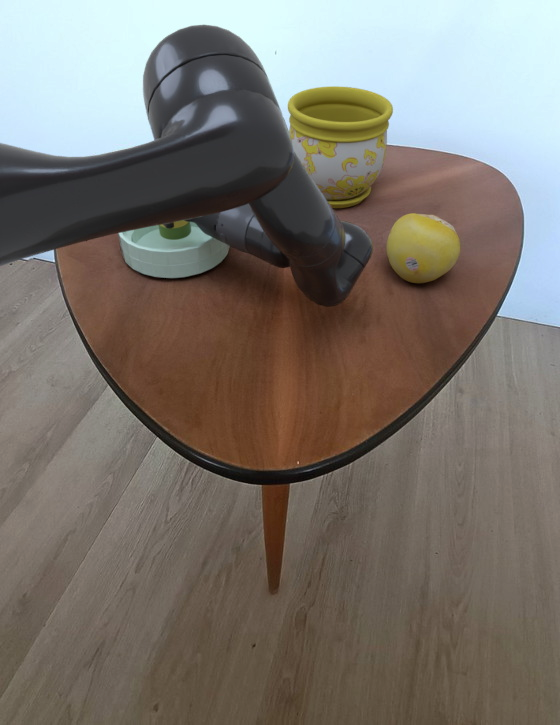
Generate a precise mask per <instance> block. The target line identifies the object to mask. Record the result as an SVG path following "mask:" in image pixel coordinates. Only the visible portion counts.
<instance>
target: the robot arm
mask: <svg viewBox="0 0 560 725" xmlns="http://www.w3.org/2000/svg"><path fill="white" fill-rule="evenodd" d="M142 95H143V96H142V97H143V103H144V107H145V113H146V117H147V120H148V125H149V126H150V131H151V134H152V137H153V140H151V141H149V142H146V143H143V144H139V145H135V146H132V147H128V148H127V147H126V148H123V149H118V150H114V151H109V152H104V153H101V154H95V155H94V154H93V155H86V156H85V155H84V156H68V155H67V156H65V155H54V154H50V153H46V152H40V151H36V150H31V149H28V148H25V147H24V148H23V147H20V146H16V145H12V144H7V143H3V142H0V267H2V266H6V265H8V264H11V263H14V262H17V261H21V260H24V259H26V258H30V257H34V256H37V255H40V254H45V253H48V252H51V251H55V250H58V249H61V248H65V247H69V246H72V245H76V244H81V243H83V242H88V241H91V240H96V239H99V238H103V237H108V236H111V235H118V233H121V232H126V231H131V230H136V229H141V228H146V227H151V226H156V225H161V224H163V225H164V226H165V227H166V228H168V229H171V228H173V227H174V222H177V221H182V220H184V221H187V222H193V223H195V224H196V225H197V226H198V227H199V228H200V229H201V231H202V232H204V233H205V234H207V235H209V236H211V237H213V238H215V239H217V240H219V241H221V242H223V243H225V244H227V245H229V246H230V247H231V248H233V249H234V250H236V251H240V252H242V253H245V254H248V255H251V256H253V257H255V258H257V259H260V260H261V261H263V262H265V263H267V264H269V265H271V266H273V267H276V268H279V269H288V268H290V271H291V276H292V278H293V280H294V281H293V282H295V285H296V286H297V288H298V289H299V291H300V292H301V293H302V295H304V297H306V298H307V299H308V300H309V301H311V302H312V303H313V304H316V305H318V306H321V307H325V308H329V307H330V308H332V307H336V306H339V305H341V304H342V303H344V302H345V301H347V298H348V297H349V296H350V294H351V292H352V291H353V289H354V287H355V285H356V283H357V282H358V280H359V279H360V277H361V276H362V273H363V272H364V270H365V269H366V267H367V265H368V263H369V261H370V260H371V257H372V256H373V252H374V244H373V241H372V238H371V236H370V235H369V233H368V232H367V231H366V230H365V229H364V228H362V227H360V226H359V225H357V224H355V223H353V222H350V221H346V220H341V219H340V218H339V216H338V214H337V213H336V212H335V210H334V208H332V207H331V205H330V204H329V202H328V201H327V199H326V198H325V197H324V195H323V194H322V192H321V191H320V189H319V188H318V186H317V185H316V183H315V182H314V181H313V179H312V178H311V176H310V175H309V173H308V172H307V170H306V169H305V167H304V166H303V164H302V162H301V161H300V159H299V158H298V156H297V155H296V153H295V151H294V148H293V144H292V140H291V137H290V133H289V129H288V125H287V123H286V119H285V118H284V116H283V113H282V112H283V111H282V110H281V107H280V105H279V102H278V99H277V96H276V94H275V91H274V89H273V86H272V84H271V81H270V79H269V77H268V74H267V72H266V69H265V68H264V65H263V63H262V62H261V60H260V58H259V57H258V55H257V53H255V51H254V50H253V48H251V46H250V45H249V44H248V43H247V42H245V40H244V39H243V38H241V37H240V36H239V35H237V34H236V33H235V32H233V31H231V30H229V29H227V28H226V29H225V28H223V27H220V26H217V25H212V24H211V25H210V24H195V25H189V26H186V27H182V28H179V29H177V30H175V31H174V32H171V33H169V34H167V35H166V36H165V37H164V38H162V40H160V41H159V42H158V43H157V44H156V46H155V47H154V48H153V49H152V50H151V52H150V54H149V56H148V58H147V60H146V62H145V66H144V70H143V74H142Z"/></svg>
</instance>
